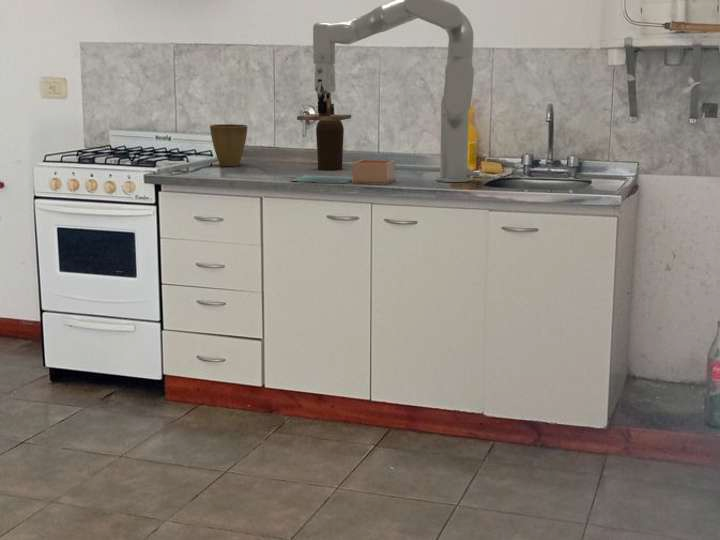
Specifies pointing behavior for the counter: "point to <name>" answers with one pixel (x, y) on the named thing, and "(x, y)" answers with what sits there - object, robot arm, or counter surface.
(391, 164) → the pot
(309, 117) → the lid
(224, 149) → the plant pot
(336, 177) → the mat
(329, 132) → the olive oil
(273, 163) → the counter surface
